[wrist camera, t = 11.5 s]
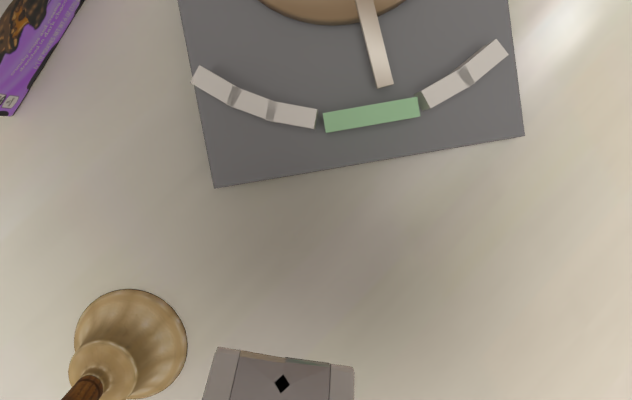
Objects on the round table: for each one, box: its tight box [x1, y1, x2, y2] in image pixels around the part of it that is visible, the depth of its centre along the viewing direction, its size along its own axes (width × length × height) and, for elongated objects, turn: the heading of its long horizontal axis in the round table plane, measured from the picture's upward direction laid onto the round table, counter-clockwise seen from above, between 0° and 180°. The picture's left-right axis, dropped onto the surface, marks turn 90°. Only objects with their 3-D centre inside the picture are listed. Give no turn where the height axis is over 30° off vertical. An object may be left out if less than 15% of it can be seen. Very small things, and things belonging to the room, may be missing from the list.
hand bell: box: [61, 289, 187, 400], centre depth 31 cm, size 8×8×16 cm
